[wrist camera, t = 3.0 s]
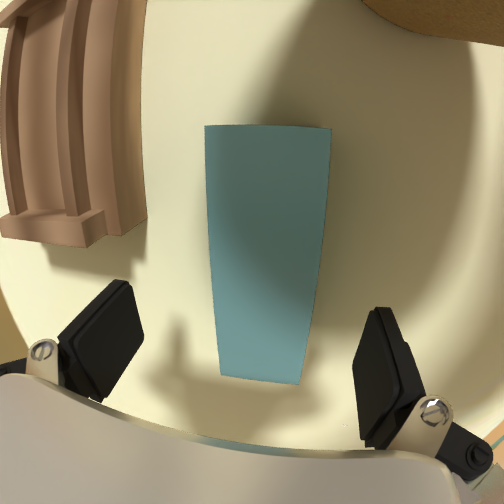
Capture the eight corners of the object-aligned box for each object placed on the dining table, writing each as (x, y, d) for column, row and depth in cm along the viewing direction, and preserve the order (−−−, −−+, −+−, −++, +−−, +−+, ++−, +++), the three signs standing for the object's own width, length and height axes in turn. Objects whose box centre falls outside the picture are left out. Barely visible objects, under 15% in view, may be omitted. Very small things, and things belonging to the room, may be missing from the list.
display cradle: (152, -36, 9) (111, -65, 4) (147, 217, 17) (100, 251, 12) (36, 21, 11) (-6, 17, 6) (38, 214, 18) (-3, 237, 14)
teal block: (321, 128, 13) (331, 128, 9) (302, 328, 19) (298, 384, 14) (235, 125, 14) (204, 125, 9) (238, 321, 19) (220, 375, 15)
